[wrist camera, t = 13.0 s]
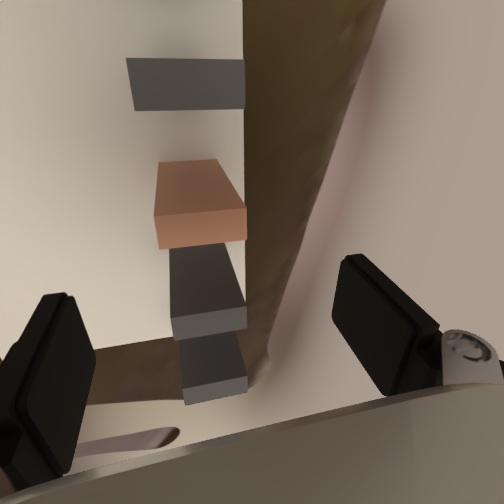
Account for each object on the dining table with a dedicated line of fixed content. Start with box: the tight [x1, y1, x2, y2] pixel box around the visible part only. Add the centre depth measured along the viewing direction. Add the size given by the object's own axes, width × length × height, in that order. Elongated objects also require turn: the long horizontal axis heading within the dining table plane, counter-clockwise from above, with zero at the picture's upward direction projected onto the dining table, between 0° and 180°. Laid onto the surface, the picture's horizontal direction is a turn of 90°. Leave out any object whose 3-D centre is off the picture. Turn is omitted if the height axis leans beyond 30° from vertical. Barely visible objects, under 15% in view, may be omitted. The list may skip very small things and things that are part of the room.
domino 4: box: [180, 331, 247, 405], centre depth 29 cm, size 2×5×12 cm, turn 90°
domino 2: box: [153, 159, 247, 250], centre depth 22 cm, size 2×5×12 cm, turn 90°
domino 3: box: [169, 243, 247, 341], centre depth 26 cm, size 2×5×12 cm, turn 89°
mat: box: [0, 0, 245, 361], centre depth 26 cm, size 38×26×1 cm
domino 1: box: [126, 58, 245, 111], centre depth 19 cm, size 2×5×12 cm, turn 90°
